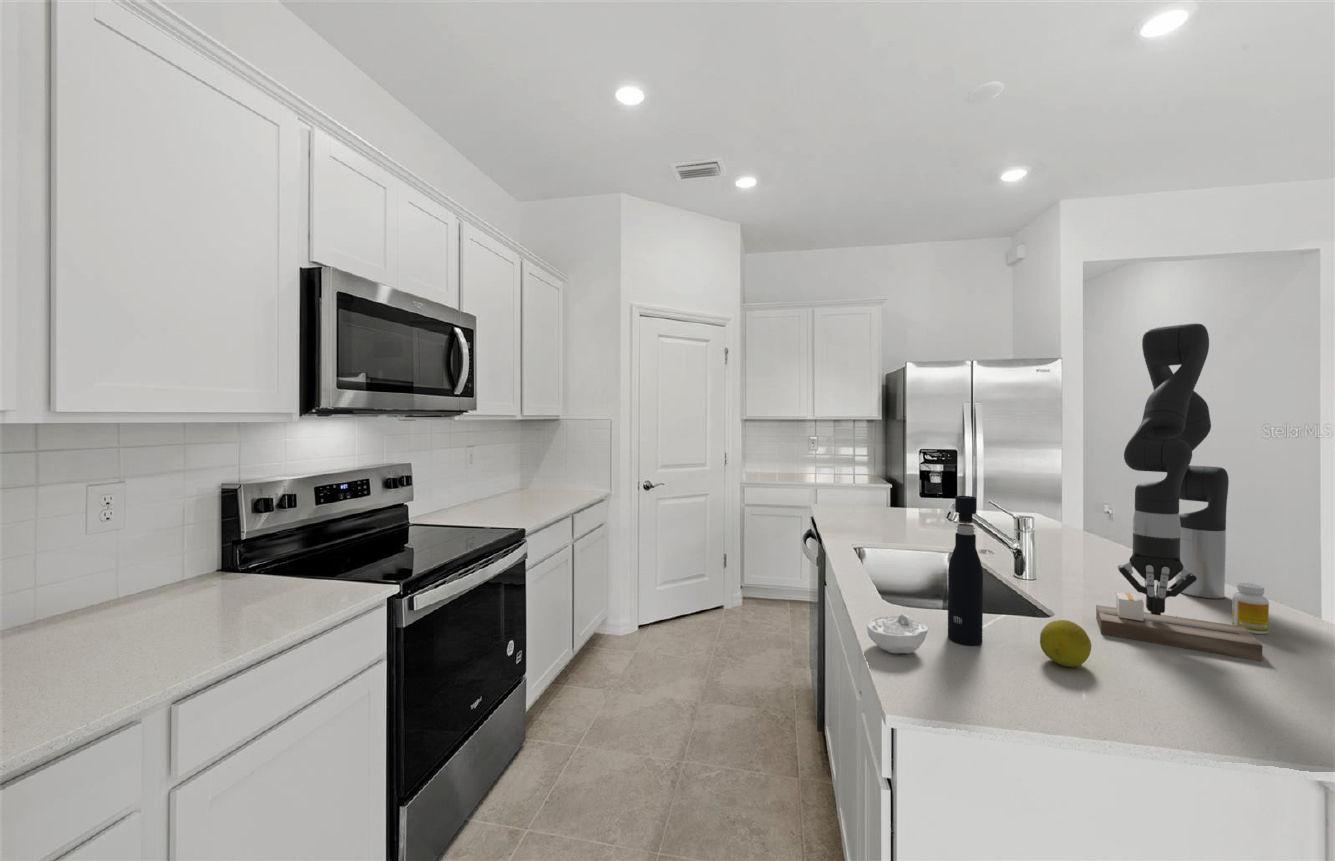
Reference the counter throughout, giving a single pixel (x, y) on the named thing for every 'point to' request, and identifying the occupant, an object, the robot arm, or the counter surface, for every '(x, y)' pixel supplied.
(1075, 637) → the lemon
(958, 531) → the black water bottle
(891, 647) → the cell model
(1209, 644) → the brown flat piece
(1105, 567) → the counter surface
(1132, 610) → the block
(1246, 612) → the supplement bottle
